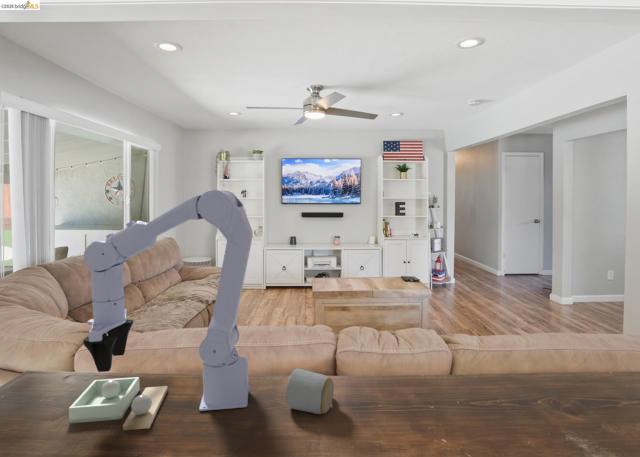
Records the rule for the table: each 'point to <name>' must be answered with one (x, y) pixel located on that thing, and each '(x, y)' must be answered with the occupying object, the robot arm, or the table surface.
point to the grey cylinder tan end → (309, 391)
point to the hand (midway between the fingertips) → (111, 362)
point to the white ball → (110, 389)
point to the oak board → (147, 418)
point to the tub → (104, 401)
